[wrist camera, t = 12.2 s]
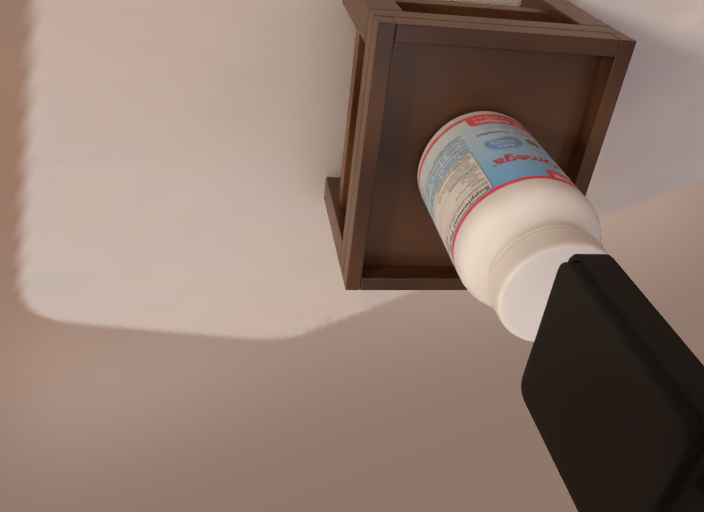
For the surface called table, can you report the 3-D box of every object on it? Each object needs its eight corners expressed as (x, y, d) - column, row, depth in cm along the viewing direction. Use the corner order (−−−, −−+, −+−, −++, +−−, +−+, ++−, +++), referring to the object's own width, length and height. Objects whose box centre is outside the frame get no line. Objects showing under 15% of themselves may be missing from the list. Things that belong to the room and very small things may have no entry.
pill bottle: (554, 140, 34) (673, 264, 25) (482, 232, 37) (566, 376, 27) (460, 84, 32) (553, 199, 22) (390, 187, 34) (448, 328, 25)
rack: (345, -27, 37) (378, 22, 28) (549, -10, 39) (636, 41, 30) (324, 198, 44) (345, 290, 36) (496, 202, 46) (554, 290, 38)
